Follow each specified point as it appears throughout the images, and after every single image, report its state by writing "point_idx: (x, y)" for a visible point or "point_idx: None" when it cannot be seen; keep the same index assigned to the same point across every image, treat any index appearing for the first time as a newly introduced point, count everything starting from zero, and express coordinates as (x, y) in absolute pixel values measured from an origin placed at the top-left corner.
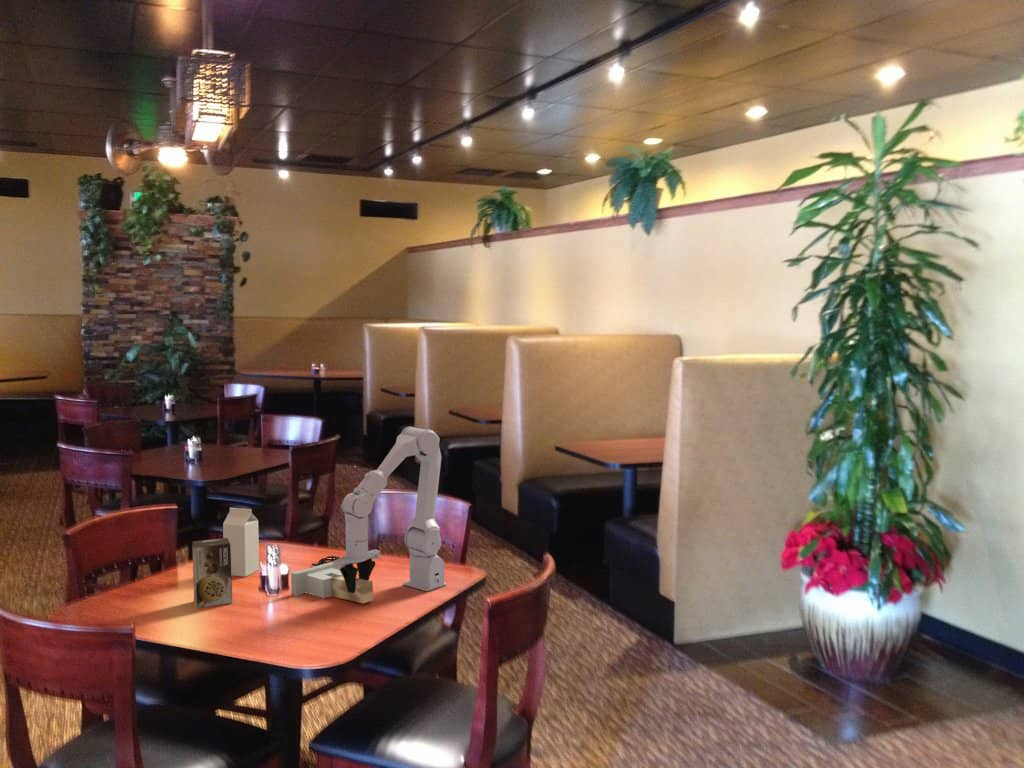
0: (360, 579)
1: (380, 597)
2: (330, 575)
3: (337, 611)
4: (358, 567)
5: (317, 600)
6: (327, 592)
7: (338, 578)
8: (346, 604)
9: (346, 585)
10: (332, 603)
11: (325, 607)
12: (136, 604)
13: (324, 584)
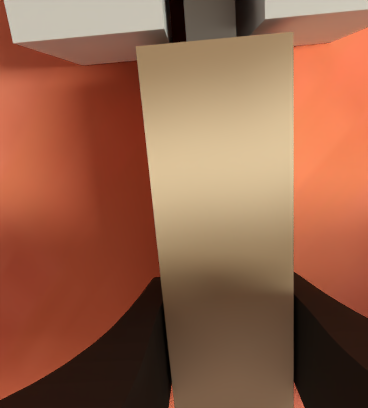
0: (274, 344)
1: (349, 297)
2: None
3: (37, 315)
4: (350, 379)
5: (31, 67)
6: (109, 58)
7: (170, 129)
8: (135, 262)
9: (138, 299)
10: (81, 191)
11: (12, 221)
12: None
13: (52, 48)
